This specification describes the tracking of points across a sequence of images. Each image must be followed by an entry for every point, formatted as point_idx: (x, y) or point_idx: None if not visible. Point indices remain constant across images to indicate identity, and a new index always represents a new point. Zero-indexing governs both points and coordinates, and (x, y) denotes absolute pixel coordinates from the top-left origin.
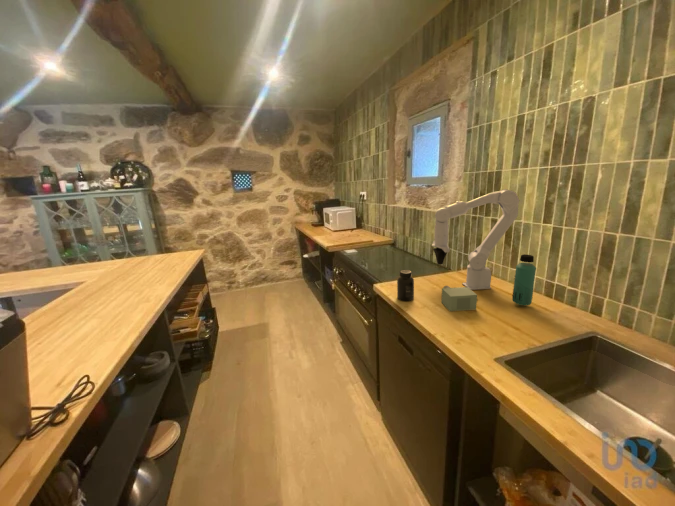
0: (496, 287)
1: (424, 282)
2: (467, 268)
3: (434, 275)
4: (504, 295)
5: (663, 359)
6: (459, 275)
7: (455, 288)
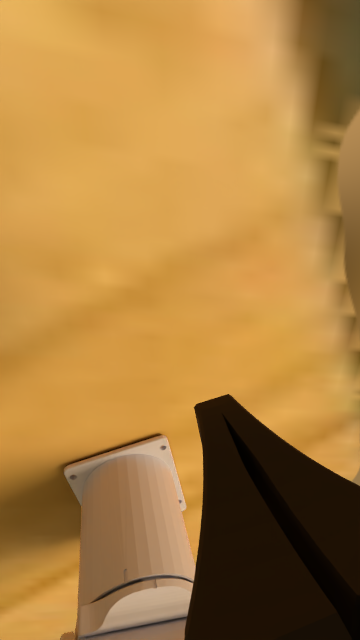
0: None
1: (189, 205)
2: (139, 572)
3: (323, 297)
4: (22, 570)
5: None
6: (297, 425)
7: None
